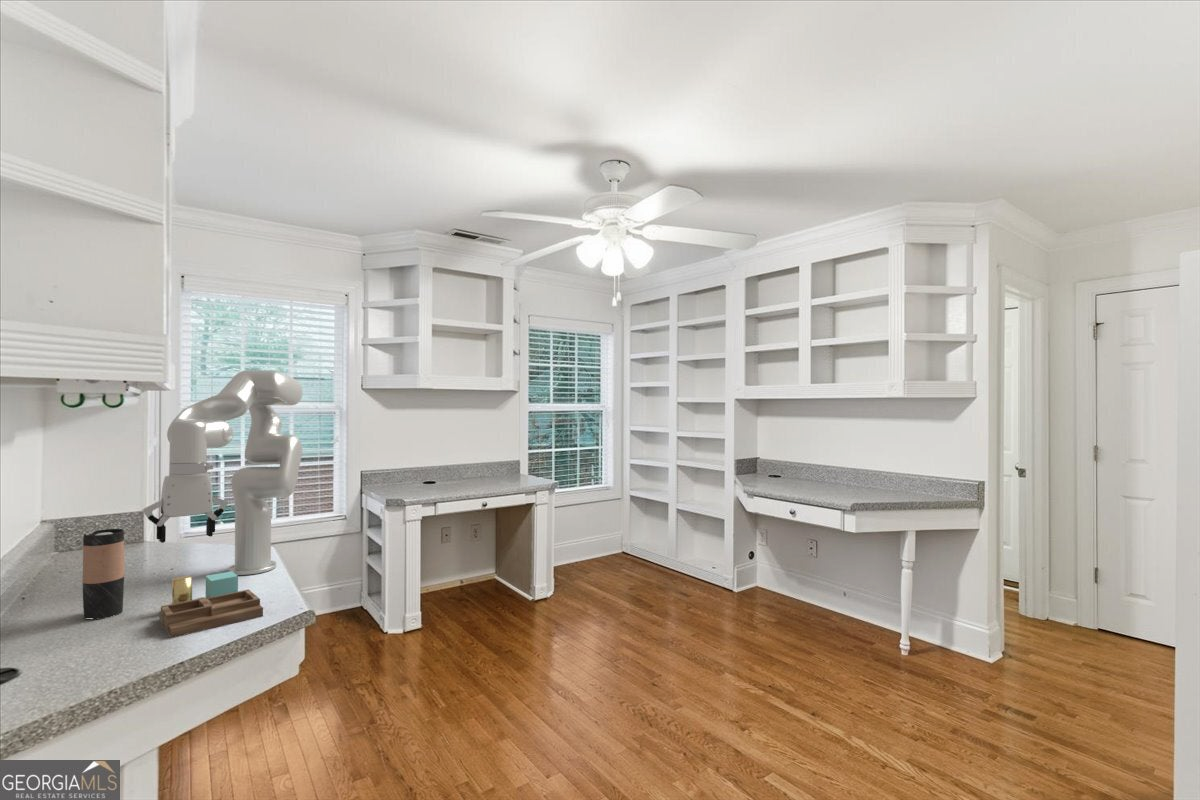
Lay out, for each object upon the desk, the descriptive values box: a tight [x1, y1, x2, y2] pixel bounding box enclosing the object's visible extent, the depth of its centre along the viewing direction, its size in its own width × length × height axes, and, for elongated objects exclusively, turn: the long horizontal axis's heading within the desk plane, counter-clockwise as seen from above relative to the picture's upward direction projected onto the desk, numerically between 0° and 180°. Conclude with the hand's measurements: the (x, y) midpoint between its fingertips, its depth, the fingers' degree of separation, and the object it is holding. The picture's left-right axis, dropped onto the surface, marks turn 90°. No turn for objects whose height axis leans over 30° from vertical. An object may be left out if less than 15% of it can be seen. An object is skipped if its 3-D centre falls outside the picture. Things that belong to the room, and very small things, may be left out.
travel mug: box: [82, 528, 125, 620], centre depth 138 cm, size 8×8×20 cm
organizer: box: [158, 589, 264, 638], centre depth 136 cm, size 15×18×4 cm
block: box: [205, 571, 239, 598], centre depth 149 cm, size 6×6×6 cm
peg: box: [171, 575, 193, 604], centre depth 141 cm, size 4×4×8 cm
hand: (186, 538), depth 141 cm, fingers open, 9 cm apart
